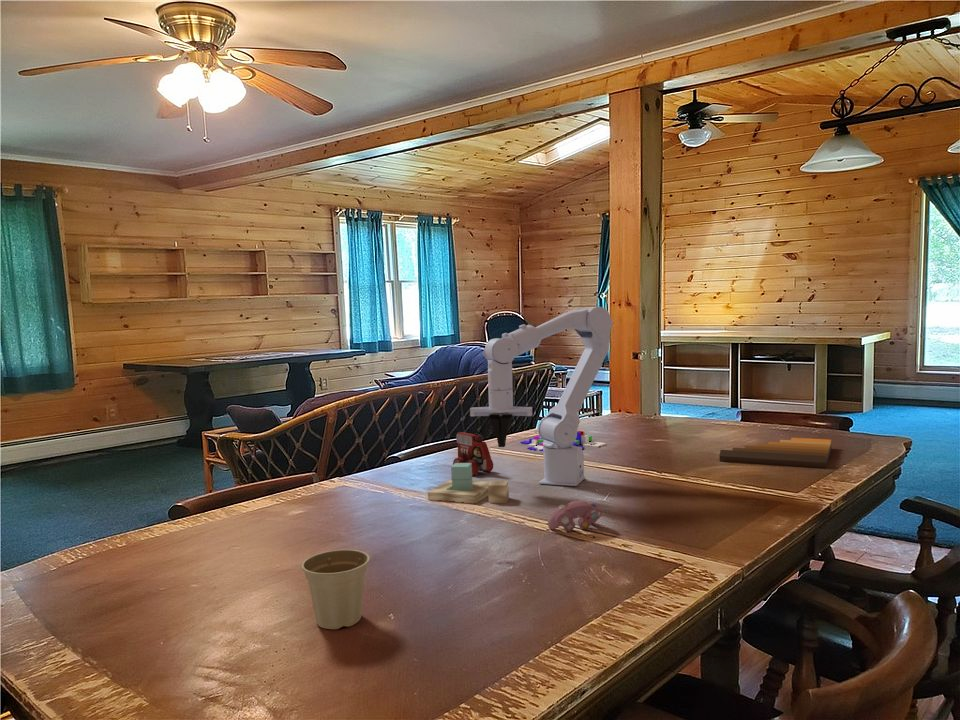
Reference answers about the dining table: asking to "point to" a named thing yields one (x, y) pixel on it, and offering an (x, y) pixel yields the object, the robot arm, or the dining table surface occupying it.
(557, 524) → the video game controller
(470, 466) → the teal brick
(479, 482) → the base plate
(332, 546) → the dining table surface
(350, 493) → the dining table surface
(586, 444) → the building block set
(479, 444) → the toy fire truck
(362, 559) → the flower pot
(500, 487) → the maple cube
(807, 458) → the pan flute
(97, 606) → the dining table surface
